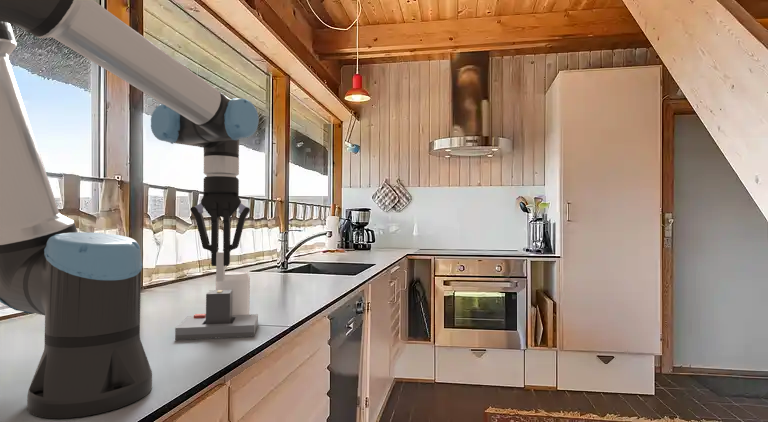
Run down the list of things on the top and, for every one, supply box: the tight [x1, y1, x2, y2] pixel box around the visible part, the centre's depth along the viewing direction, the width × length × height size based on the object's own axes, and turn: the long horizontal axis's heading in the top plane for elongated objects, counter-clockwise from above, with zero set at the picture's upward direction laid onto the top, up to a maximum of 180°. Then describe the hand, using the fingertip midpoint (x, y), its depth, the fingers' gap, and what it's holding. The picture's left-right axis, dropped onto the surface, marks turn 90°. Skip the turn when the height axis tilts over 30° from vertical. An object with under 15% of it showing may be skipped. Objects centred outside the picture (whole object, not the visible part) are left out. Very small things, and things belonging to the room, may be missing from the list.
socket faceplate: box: [174, 313, 259, 341], centre depth 102 cm, size 11×16×3 cm
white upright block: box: [215, 270, 251, 315], centre depth 113 cm, size 8×8×12 cm
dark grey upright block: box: [205, 289, 233, 324], centre depth 102 cm, size 5×5×8 cm
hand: (220, 280), depth 102 cm, fingers closed
